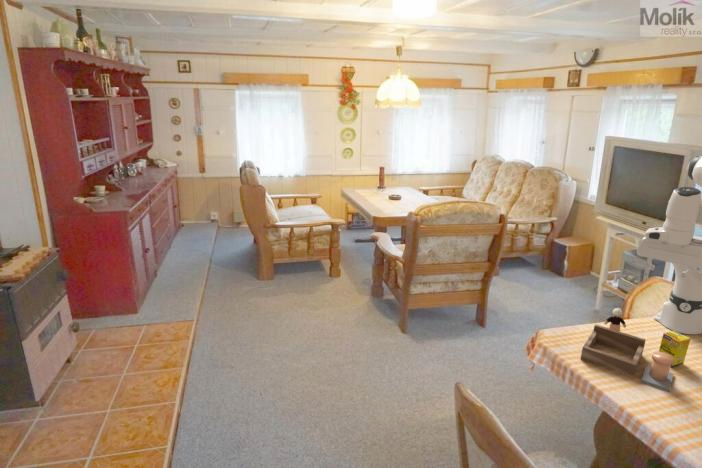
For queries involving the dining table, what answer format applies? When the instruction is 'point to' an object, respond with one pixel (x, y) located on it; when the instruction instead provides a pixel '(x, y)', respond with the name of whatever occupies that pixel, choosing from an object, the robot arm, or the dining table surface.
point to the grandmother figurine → (616, 320)
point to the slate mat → (659, 384)
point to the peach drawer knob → (660, 365)
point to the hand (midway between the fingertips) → (667, 273)
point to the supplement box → (675, 346)
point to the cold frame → (614, 341)
